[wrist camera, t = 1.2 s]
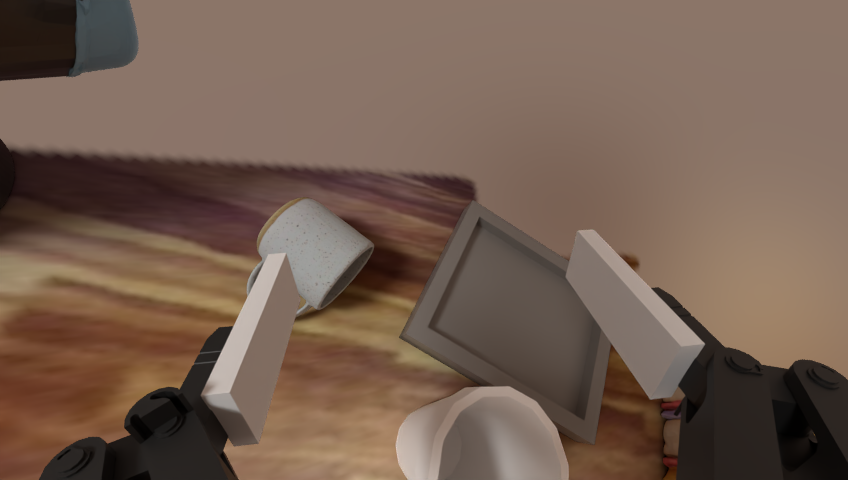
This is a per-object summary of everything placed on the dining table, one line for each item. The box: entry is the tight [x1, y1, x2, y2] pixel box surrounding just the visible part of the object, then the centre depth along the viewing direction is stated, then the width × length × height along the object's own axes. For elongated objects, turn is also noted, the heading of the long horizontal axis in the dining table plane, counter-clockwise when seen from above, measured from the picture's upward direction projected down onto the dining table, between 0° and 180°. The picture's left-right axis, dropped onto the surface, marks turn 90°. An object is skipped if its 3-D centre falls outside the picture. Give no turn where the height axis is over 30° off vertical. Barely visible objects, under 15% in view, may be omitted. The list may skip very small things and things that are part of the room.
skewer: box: [661, 387, 685, 480], centre depth 39 cm, size 21×6×5 cm, turn 159°
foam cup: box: [396, 386, 569, 480], centre depth 26 cm, size 10×9×13 cm
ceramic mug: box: [247, 197, 374, 317], centre depth 31 cm, size 11×8×8 cm
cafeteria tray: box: [399, 200, 611, 445], centre depth 39 cm, size 22×18×2 cm
